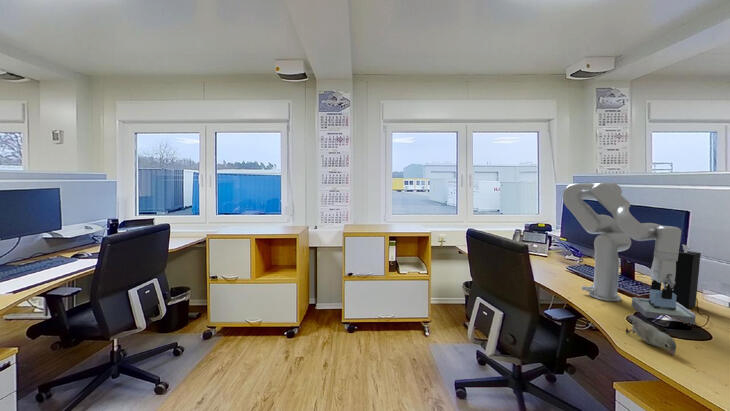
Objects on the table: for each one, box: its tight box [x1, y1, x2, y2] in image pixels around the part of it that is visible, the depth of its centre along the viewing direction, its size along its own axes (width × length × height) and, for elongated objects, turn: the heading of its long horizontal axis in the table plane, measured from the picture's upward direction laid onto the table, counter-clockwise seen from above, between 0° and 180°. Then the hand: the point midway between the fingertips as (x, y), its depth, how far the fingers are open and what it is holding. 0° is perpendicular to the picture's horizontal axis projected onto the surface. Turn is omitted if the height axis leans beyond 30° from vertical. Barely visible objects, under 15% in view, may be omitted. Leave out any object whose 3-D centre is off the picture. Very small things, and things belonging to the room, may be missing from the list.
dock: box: [631, 296, 697, 326], centre depth 140 cm, size 16×14×4 cm
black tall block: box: [673, 243, 702, 310], centre depth 150 cm, size 8×8×28 cm
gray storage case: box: [648, 288, 677, 311], centre depth 139 cm, size 8×5×7 cm, turn 69°
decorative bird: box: [625, 314, 677, 356], centre depth 115 cm, size 5×16×8 cm, turn 8°
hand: (660, 294), depth 140 cm, fingers open, 9 cm apart
